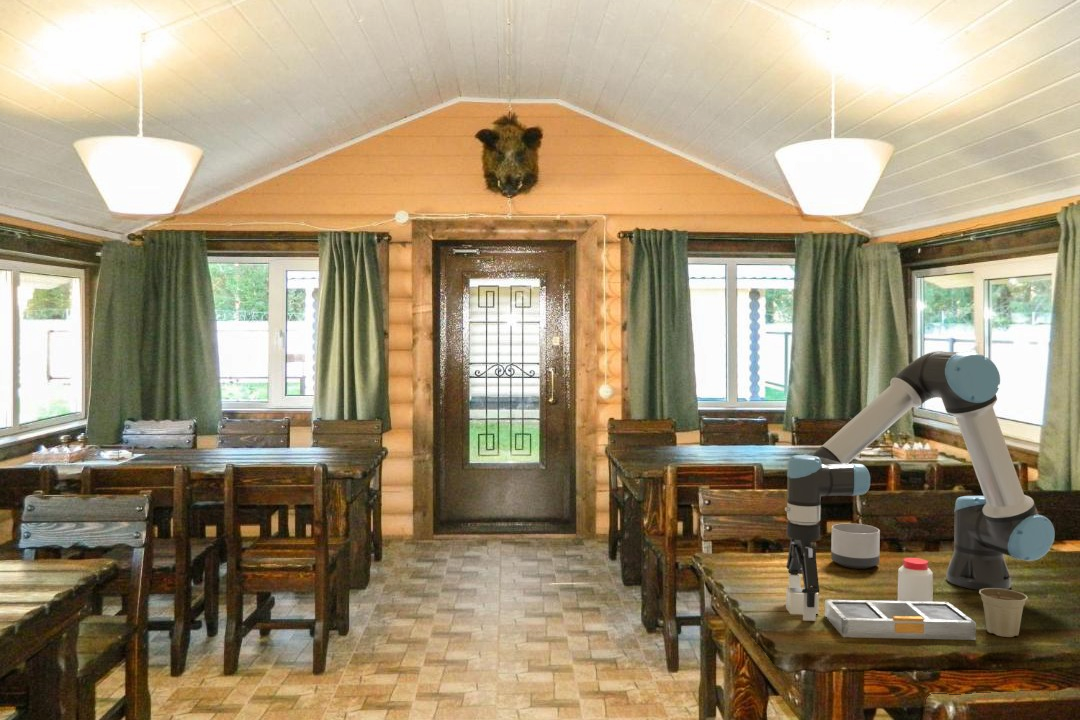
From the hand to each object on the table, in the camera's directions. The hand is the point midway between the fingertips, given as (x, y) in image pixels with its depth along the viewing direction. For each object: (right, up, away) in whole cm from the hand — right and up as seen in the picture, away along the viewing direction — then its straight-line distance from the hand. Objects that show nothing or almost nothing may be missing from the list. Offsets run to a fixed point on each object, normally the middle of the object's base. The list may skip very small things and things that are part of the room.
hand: (801, 610), depth 201 cm
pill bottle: (+29, 0, +5) cm, 29 cm away
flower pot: (+40, -1, -14) cm, 42 cm away
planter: (+28, +1, +41) cm, 49 cm away
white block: (0, 0, 0) cm, 0 cm away
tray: (+18, -1, -11) cm, 21 cm away
